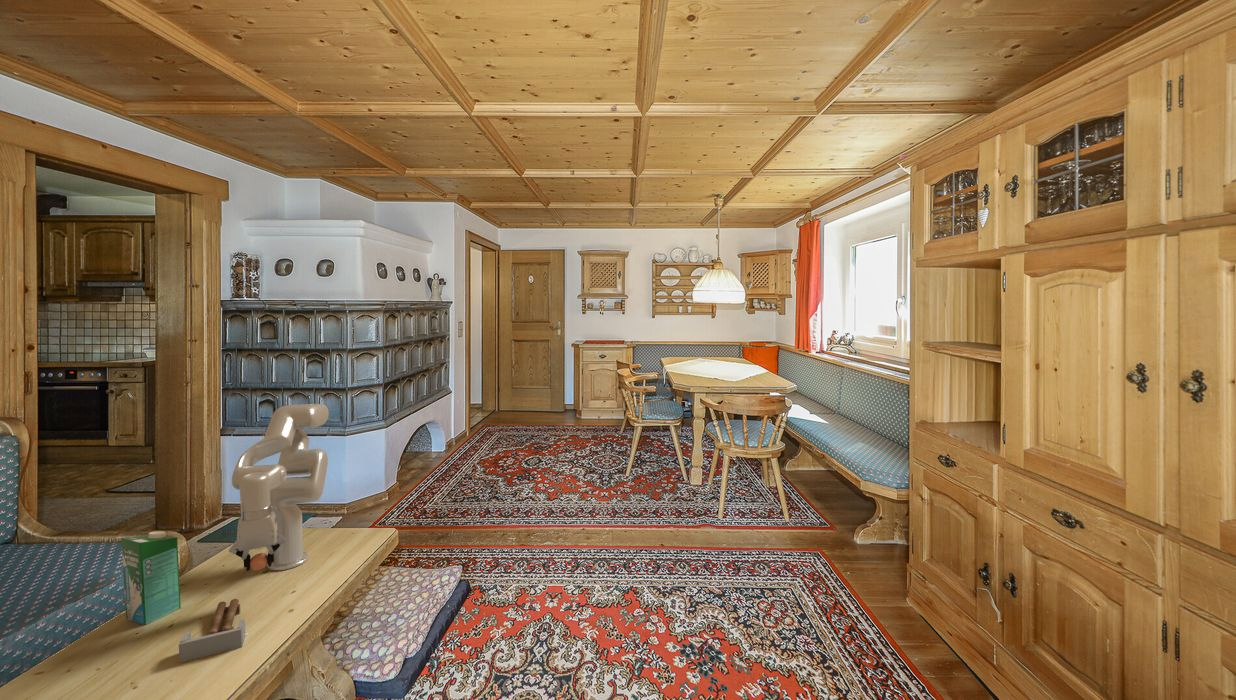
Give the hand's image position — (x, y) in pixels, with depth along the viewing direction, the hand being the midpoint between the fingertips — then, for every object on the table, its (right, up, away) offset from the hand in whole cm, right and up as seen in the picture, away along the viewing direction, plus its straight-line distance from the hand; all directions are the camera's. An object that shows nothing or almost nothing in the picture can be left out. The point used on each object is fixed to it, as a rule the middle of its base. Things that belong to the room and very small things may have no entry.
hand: (259, 566), depth 152 cm
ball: (0, +1, 0) cm, 1 cm away
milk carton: (-27, -11, -7) cm, 30 cm away
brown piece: (-2, -12, -12) cm, 17 cm away
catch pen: (+4, -13, -22) cm, 26 cm away
